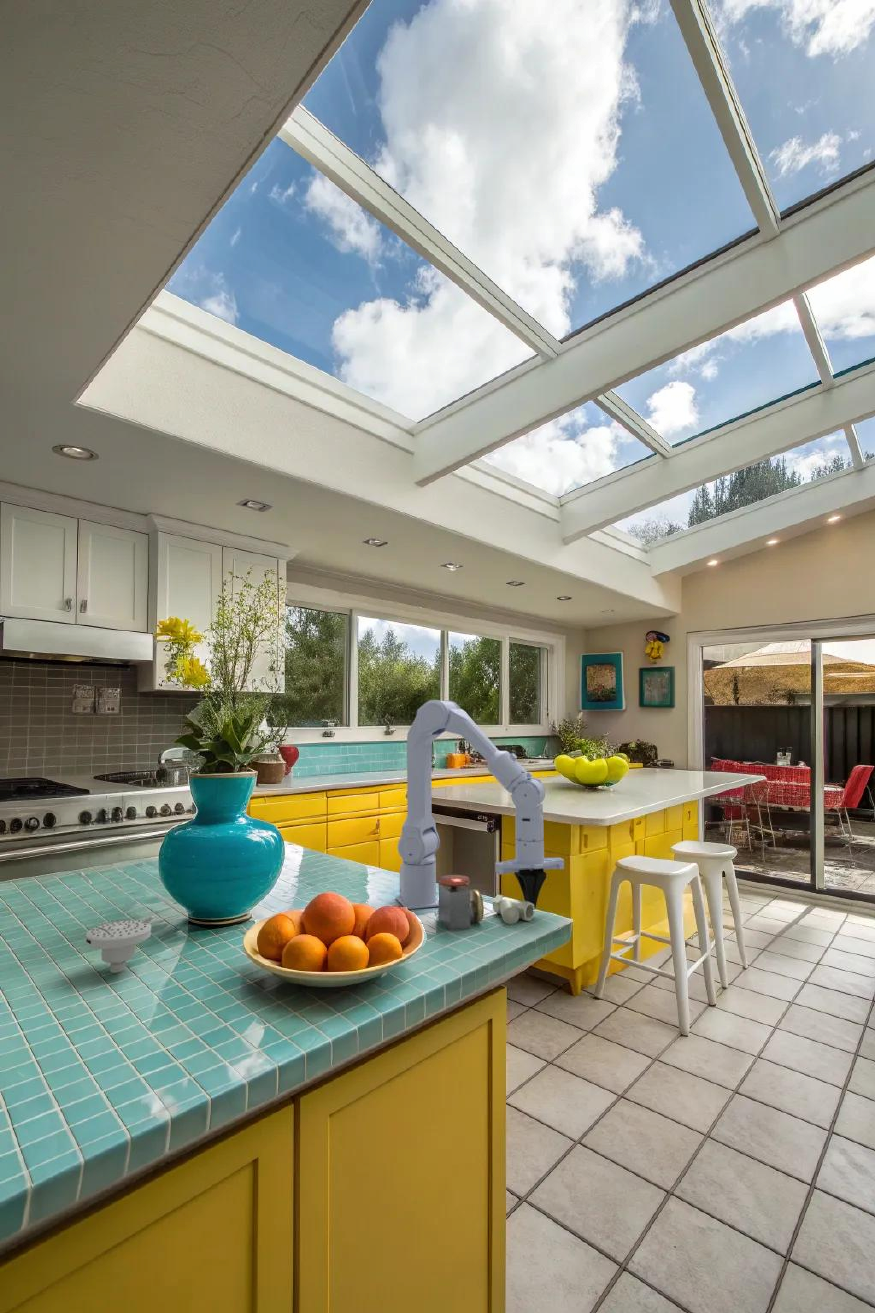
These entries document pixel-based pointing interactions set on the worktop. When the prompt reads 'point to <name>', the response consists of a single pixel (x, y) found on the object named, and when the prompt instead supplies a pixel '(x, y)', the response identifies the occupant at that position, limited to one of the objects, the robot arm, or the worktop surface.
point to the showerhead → (118, 940)
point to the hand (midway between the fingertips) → (530, 907)
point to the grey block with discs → (458, 903)
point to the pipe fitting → (513, 909)
